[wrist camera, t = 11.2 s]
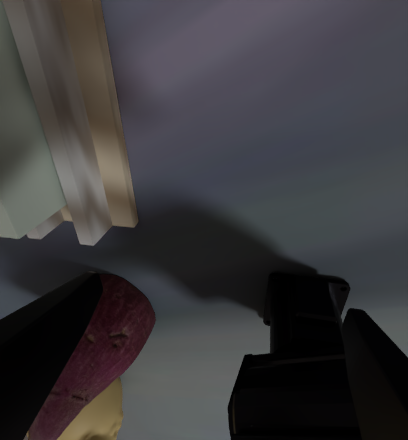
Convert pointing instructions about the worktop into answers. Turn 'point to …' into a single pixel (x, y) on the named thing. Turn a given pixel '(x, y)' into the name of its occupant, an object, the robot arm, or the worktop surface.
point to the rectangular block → (22, 148)
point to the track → (76, 112)
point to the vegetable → (97, 355)
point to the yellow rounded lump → (98, 417)
